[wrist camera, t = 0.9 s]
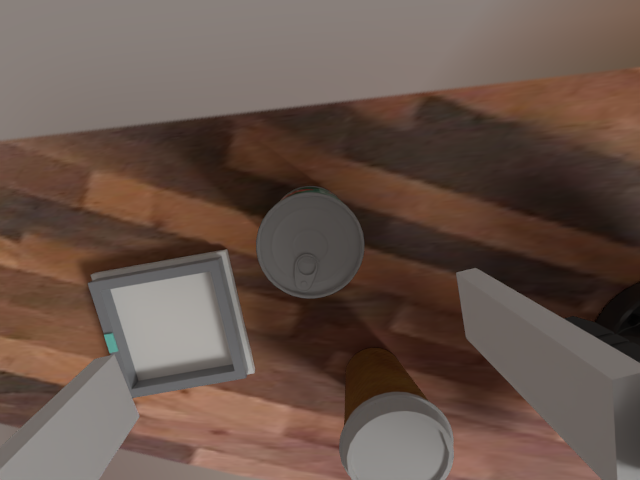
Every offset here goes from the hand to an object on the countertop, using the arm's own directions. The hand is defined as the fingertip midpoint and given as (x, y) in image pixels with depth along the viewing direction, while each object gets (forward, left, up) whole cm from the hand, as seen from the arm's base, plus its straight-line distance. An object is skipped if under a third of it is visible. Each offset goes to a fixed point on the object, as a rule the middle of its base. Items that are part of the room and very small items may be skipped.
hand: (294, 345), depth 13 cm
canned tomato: (-1, -1, -24) cm, 24 cm away
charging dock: (+15, +7, -23) cm, 29 cm away
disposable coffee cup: (-5, +17, -24) cm, 29 cm away
